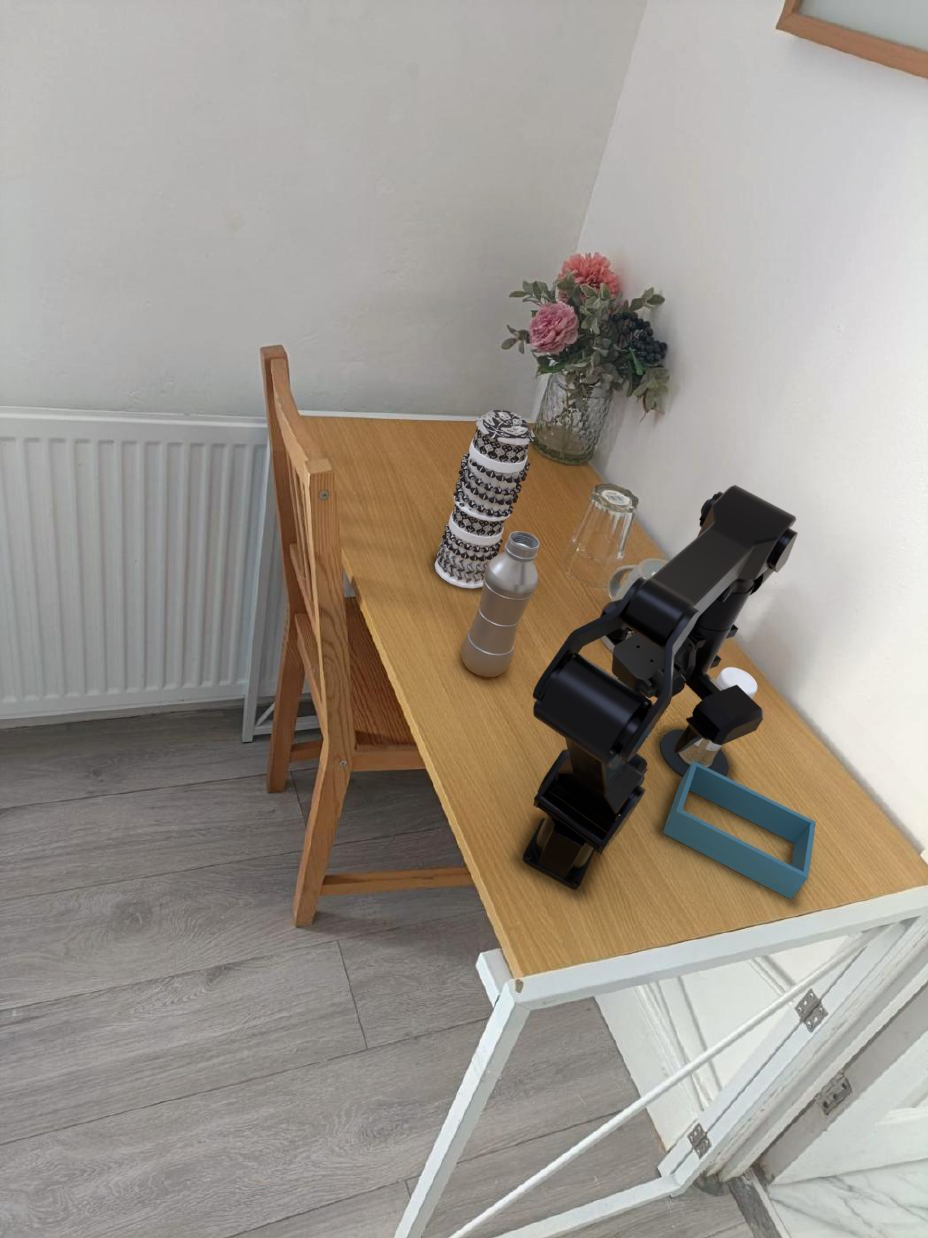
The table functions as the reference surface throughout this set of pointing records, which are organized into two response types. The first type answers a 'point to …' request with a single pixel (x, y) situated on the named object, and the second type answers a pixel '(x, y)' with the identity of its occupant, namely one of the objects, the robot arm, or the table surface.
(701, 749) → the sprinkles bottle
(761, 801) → the blue open rectangular frame
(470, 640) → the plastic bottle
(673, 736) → the coaster
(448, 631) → the table surface
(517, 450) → the white patterned cylinder
